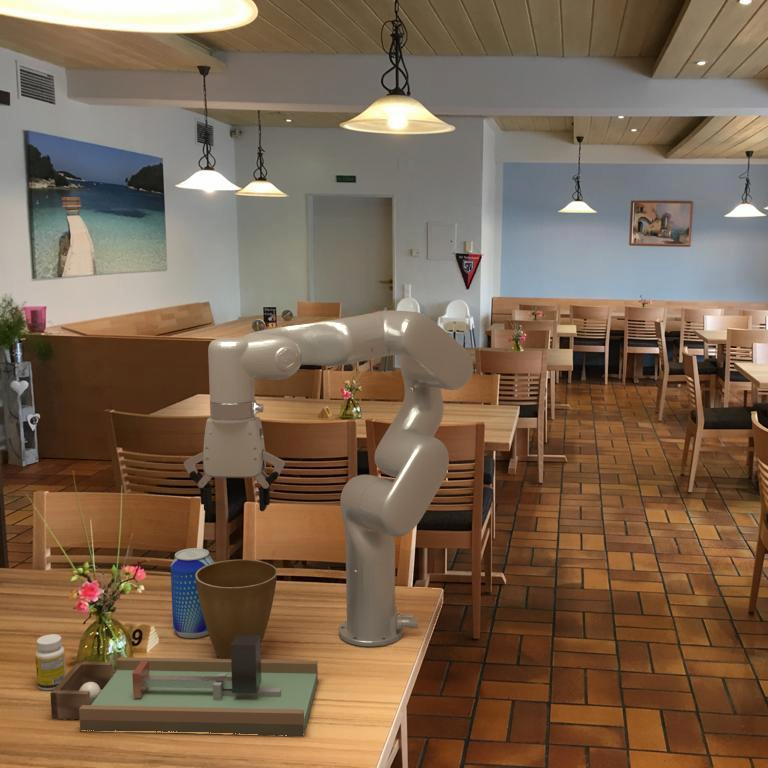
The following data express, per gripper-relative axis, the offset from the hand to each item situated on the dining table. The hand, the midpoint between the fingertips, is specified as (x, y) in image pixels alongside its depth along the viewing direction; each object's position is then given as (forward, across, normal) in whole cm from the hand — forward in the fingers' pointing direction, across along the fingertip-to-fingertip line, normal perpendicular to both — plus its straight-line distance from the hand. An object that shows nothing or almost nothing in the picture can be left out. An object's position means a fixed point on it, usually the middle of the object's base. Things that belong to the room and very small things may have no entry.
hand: (235, 508), depth 152 cm
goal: (+30, +24, +11) cm, 40 cm away
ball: (+29, +23, +11) cm, 38 cm away
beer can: (+31, +13, -18) cm, 38 cm away
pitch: (+30, +3, +11) cm, 32 cm away
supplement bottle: (+31, +32, +5) cm, 44 cm away
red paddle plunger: (+28, +5, +11) cm, 30 cm away
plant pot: (+31, +2, -8) cm, 32 cm away
